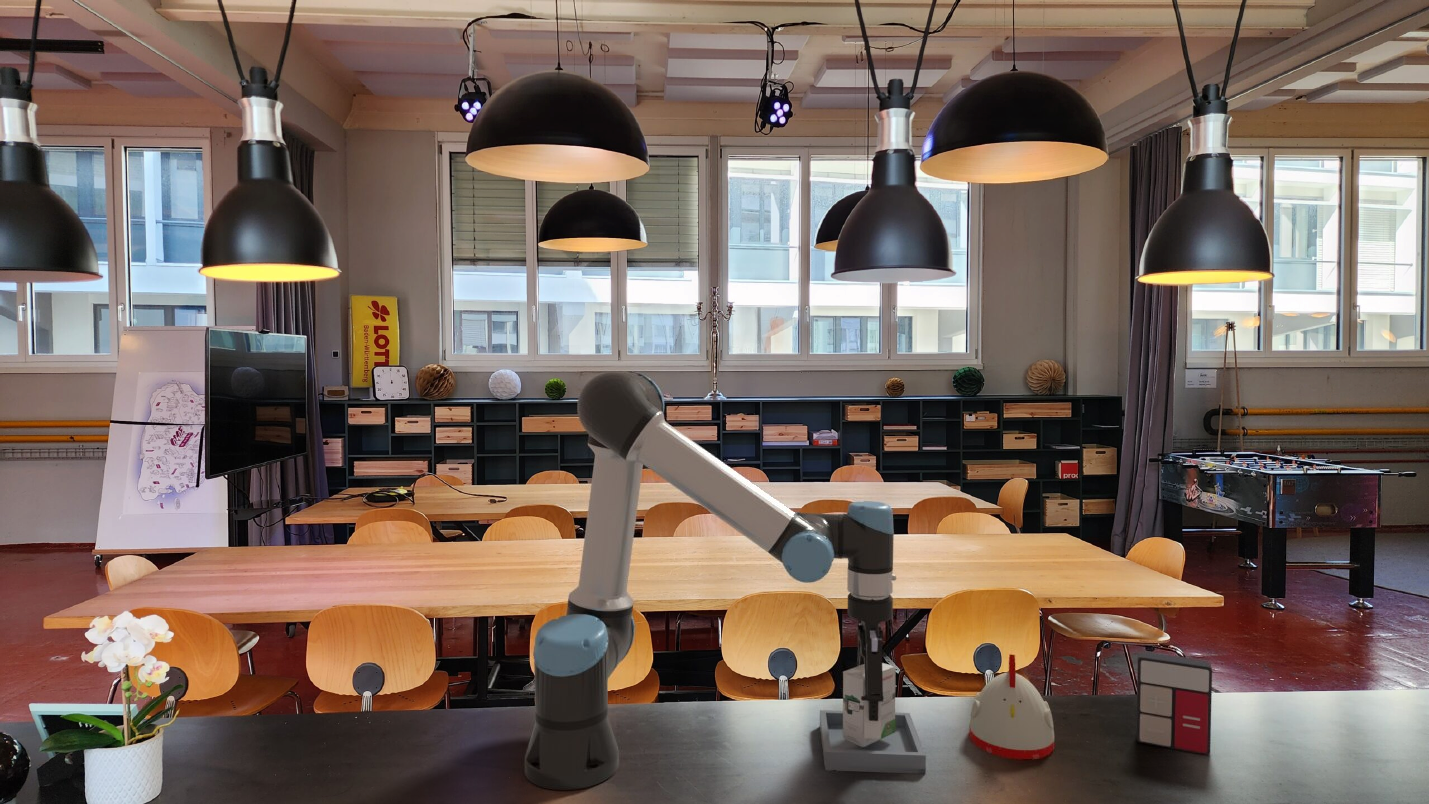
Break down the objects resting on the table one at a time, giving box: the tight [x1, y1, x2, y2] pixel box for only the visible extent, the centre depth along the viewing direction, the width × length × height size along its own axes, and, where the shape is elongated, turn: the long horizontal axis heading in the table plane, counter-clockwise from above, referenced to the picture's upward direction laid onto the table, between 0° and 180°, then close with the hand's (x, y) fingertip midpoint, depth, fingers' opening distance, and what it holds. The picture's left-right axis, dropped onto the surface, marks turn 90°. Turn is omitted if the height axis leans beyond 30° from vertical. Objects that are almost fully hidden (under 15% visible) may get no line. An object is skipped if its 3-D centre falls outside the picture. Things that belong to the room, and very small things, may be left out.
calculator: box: [1135, 651, 1213, 756], centre depth 138 cm, size 11×4×15 cm, turn 62°
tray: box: [819, 709, 927, 775], centre depth 138 cm, size 16×16×3 cm
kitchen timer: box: [968, 653, 1055, 760], centre depth 141 cm, size 14×14×15 cm
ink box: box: [842, 662, 896, 747], centre depth 138 cm, size 9×5×12 cm, turn 129°
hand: (869, 724), depth 138 cm, fingers closed on ink box, 9 cm apart
